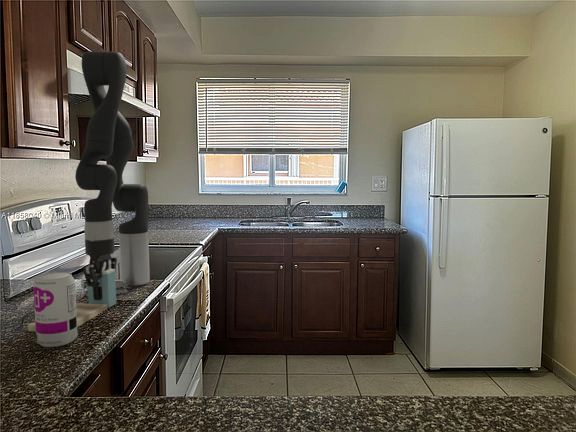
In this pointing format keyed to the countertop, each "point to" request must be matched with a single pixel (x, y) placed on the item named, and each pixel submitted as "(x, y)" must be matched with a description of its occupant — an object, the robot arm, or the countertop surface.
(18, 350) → the countertop surface
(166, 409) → the countertop surface
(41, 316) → the supplement can
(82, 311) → the board
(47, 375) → the countertop surface
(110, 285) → the block
